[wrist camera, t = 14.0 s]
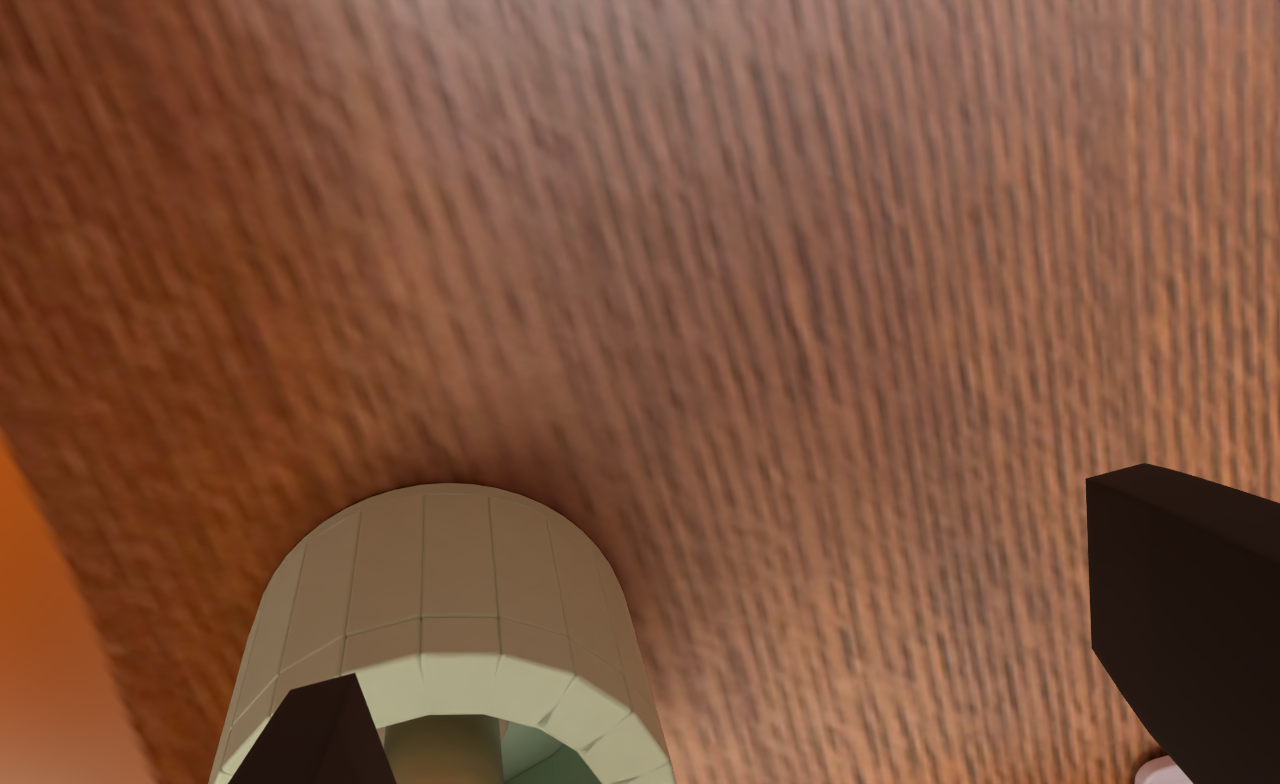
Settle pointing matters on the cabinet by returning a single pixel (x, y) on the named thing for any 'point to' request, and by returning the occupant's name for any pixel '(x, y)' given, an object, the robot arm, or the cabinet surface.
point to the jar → (460, 633)
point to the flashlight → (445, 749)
